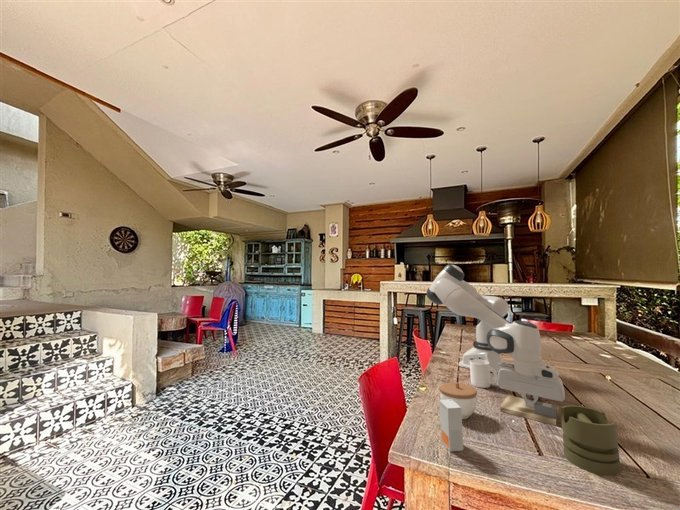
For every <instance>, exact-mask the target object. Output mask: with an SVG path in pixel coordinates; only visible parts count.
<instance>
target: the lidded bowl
mask: <svg viewBox="0 0 680 510" xmlns="http://www.w3.org/2000/svg"><path fill="white" fill-rule="evenodd" d="M438 389H439V396H440V399H439V400H447V399H452V400H453V401H454V402H456V403H457V404H458V405H459V406H460V407H461V412H462V420H466V419H469V418H470V417H471V416H472V414H473V413H474V412H475V411H476V408H477V396H478V395H477V394H478V392H477V390H476V387H474V386H473V385H469V384H466V383H460V382H454V381H453V382H449V381H447V382H444V383H441V384H439V387H438Z"/></svg>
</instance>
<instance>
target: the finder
mask: <svg viewBox="0 0 680 510" xmlns="http://www.w3.org/2000/svg"><path fill="white" fill-rule="evenodd" d="M557 406H558V405H555V404H551V403H547V402H543V401H542V402H538V401H536V403H535V404H534V409H535V414H538V415H542V416H546V417H550V418H554V419H556V418H557Z"/></svg>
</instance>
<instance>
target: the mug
mask: <svg viewBox="0 0 680 510" xmlns="http://www.w3.org/2000/svg"><path fill="white" fill-rule="evenodd" d="M490 371H492V372H490ZM469 372H470V373H469V374H470V375H469V376H470V384H471V386H472V387H475V388H479V389H486V388H487V389H488V388H491V386H492V385H495V384H497V382H498V373H497V372H496V371H495V370H494V369H493V368H491V367H490V363H489V362H488V361H484V360H477V359H475V360H470V369H469ZM491 373H493V375H494V380H492V379H491Z"/></svg>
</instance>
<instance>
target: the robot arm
mask: <svg viewBox="0 0 680 510" xmlns="http://www.w3.org/2000/svg"><path fill="white" fill-rule="evenodd" d="M464 278H465V272H463V270H462V268H461V267H459V266H458V265H455V264H452V263H450V264H447V265H445V266H444V267H443V269H442V270H441V271H440V272H439V273H438V274H437V276H435V278H434V280H433V281H432V283H431V284H430V287H428V289H427V290H426V297H427V299H428V300H429V301H430V302H431V303H433V304H436V305H438V306H440V305H444V306H445V307H446V308H447V309H448V310H450V311H451V312H452V313H454V314H456V315H458V316H461V317H469V318H475V319H477V320H480V322H479V323H478V324H477V325H476V326H475V334H476V336H475V337H476V339H474V340H473V341H472V347H471V348H469V349H468V350H467V351H465V352H464V353H463V355H462V360H460V361H459V362H458V367H462V368H466V369H469V370H470V360H475V359H477V360H484V361H488V362H489V363H490V367H491V368H493V369H494V370H495V371H496V372H497V374H498V381H497V383H496V384H497V386H498V387H499V388H500V389H502V390H507V391H511V392H515V393H520V394H521V398H523V399H524V401H525V405H526V406H527V407H531V408H534V404H535V403H536V401H537V400H538V398H539V397H542V399H543V398H544V399H548V400H553V401H557V402H560V403H561V402H564V401H565V399H566V393H565V392H566V391H565V387H564V382H563V381H562V379H561V378H560V377H559V376H560V375H559V373H560V372H559V370H558V368H556V367H553V366H552V365H549V364H547V363H544V362H543V357H542V355H541V351H542V339H541V334H540V330H539V327H538V326H537V325H536V324H534V323H532V322H530V321H525V320H514V321H513V322H510V321H509V320H507V319H506V318H504V317H505V316H507V314H508V312H509V305H508V302H507V300H505V299H504V298H502V297H498V296H493V295H492V296H491V295H484V294H481V293H479V292H478V290H477V288H476V287H475V286H473V285H472V284H470V283H469V282H467V281H465V280H464ZM501 354H511V355H512V356H513V357H512V358H513V364H512V363H505V362H503V360H502V355H501ZM490 373H493V372H492V371H490ZM527 395H529V396H531V395H533V398H534V401H529V400H530V399H528V397H527Z"/></svg>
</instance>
